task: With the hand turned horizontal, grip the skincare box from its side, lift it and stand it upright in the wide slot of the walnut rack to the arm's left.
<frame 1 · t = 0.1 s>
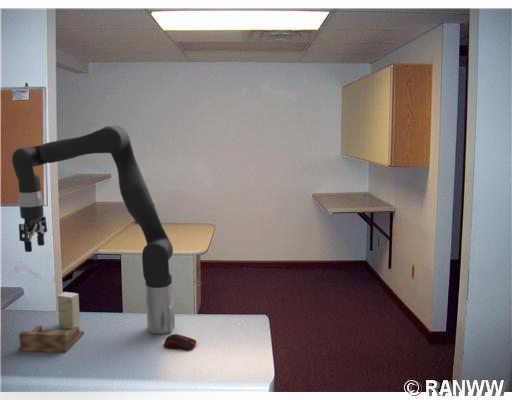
hand: (35, 248, 179), 29 cm above the table, tool pointing down, fingers open, 8 cm apart
rack: (52, 341, 171), on the table
skincare box: (70, 326, 183), on the table
computer mouse: (180, 346, 168), on the table
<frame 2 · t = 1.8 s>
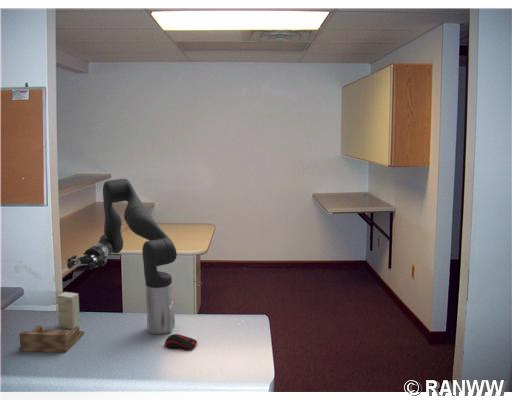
hand: (79, 266, 191), 19 cm above the table, tool horizontal, fingers open, 8 cm apart
nothing on the table moved.
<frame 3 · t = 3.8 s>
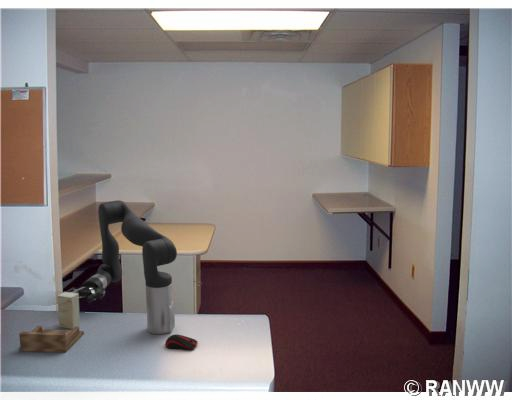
hand: (77, 300, 189), 7 cm above the table, tool horizontal, fingers open, 8 cm apart
nothing on the table moved.
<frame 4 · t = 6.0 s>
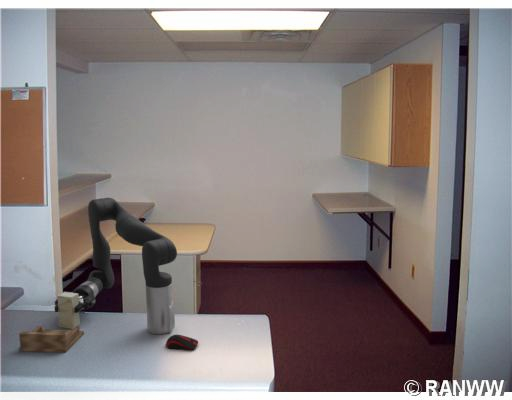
hand: (65, 310, 180), 7 cm above the table, tool horizontal, fingers closed on skincare box, 6 cm apart
skincare box: (69, 326, 183), on the table, touching gripper
everything else where it was.
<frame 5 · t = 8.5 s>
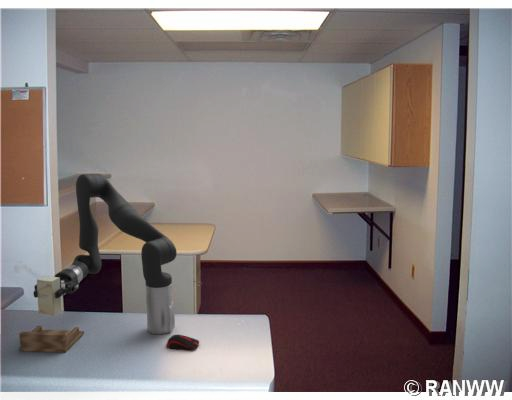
hand: (45, 295, 166), 18 cm above the table, tool horizontal, fingers closed on skincare box, 6 cm apart
skincare box: (50, 312, 169), point 10 cm above the table, touching gripper
when the fingers open (9 cm above the table, at t = 11.1 s): skincare box stays where it is, resting on rack.
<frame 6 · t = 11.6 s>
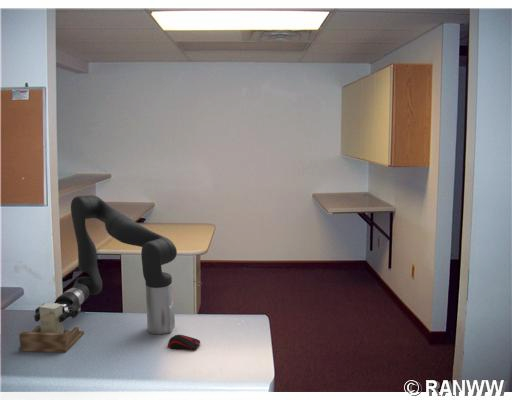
hand: (48, 319, 167), 9 cm above the table, tool horizontal, fingers open, 8 cm apart
skincare box: (53, 339, 171), point 1 cm above the table, touching rack
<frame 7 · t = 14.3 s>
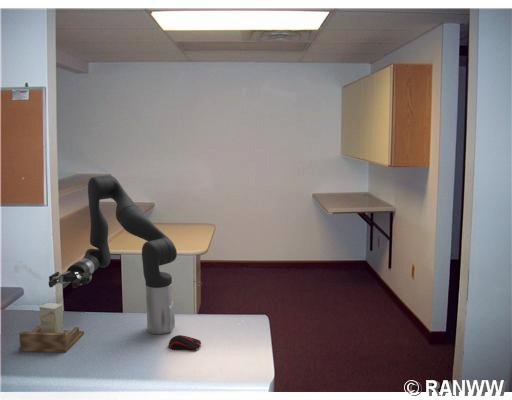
hand: (61, 285, 177), 17 cm above the table, tool horizontal, fingers open, 8 cm apart
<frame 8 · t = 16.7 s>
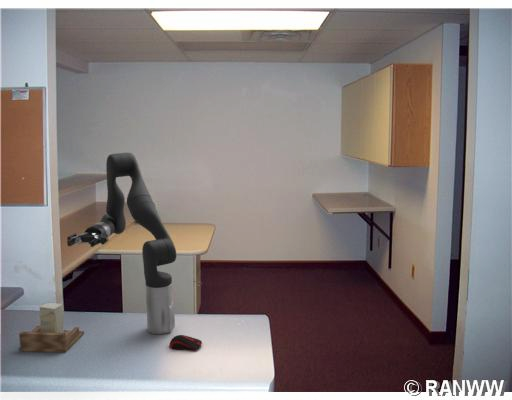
hand: (80, 244, 182), 30 cm above the table, tool horizontal, fingers open, 8 cm apart
at the end: skincare box inside the target area on the rack (0.2 cm from its centre), point 0.8 cm above the rack's base; skincare box tilted 0°; the gripper is holding nothing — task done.
